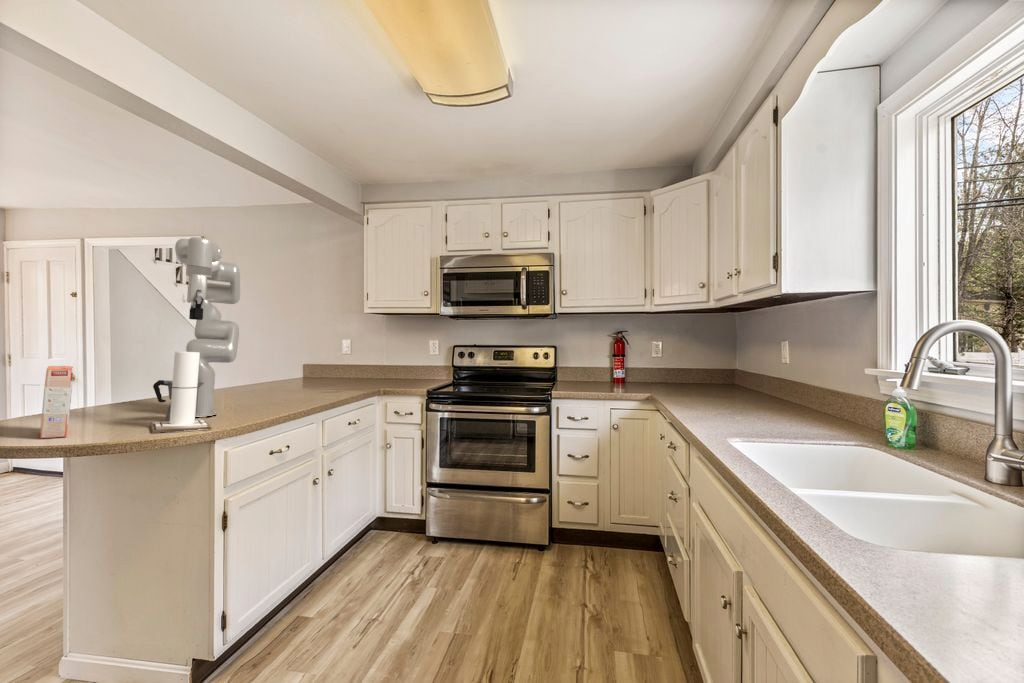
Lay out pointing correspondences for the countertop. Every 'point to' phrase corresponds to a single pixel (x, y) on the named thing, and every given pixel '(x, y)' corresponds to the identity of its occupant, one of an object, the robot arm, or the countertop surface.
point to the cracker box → (56, 401)
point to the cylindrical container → (184, 388)
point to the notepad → (178, 426)
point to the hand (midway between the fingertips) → (195, 319)
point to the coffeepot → (169, 384)
